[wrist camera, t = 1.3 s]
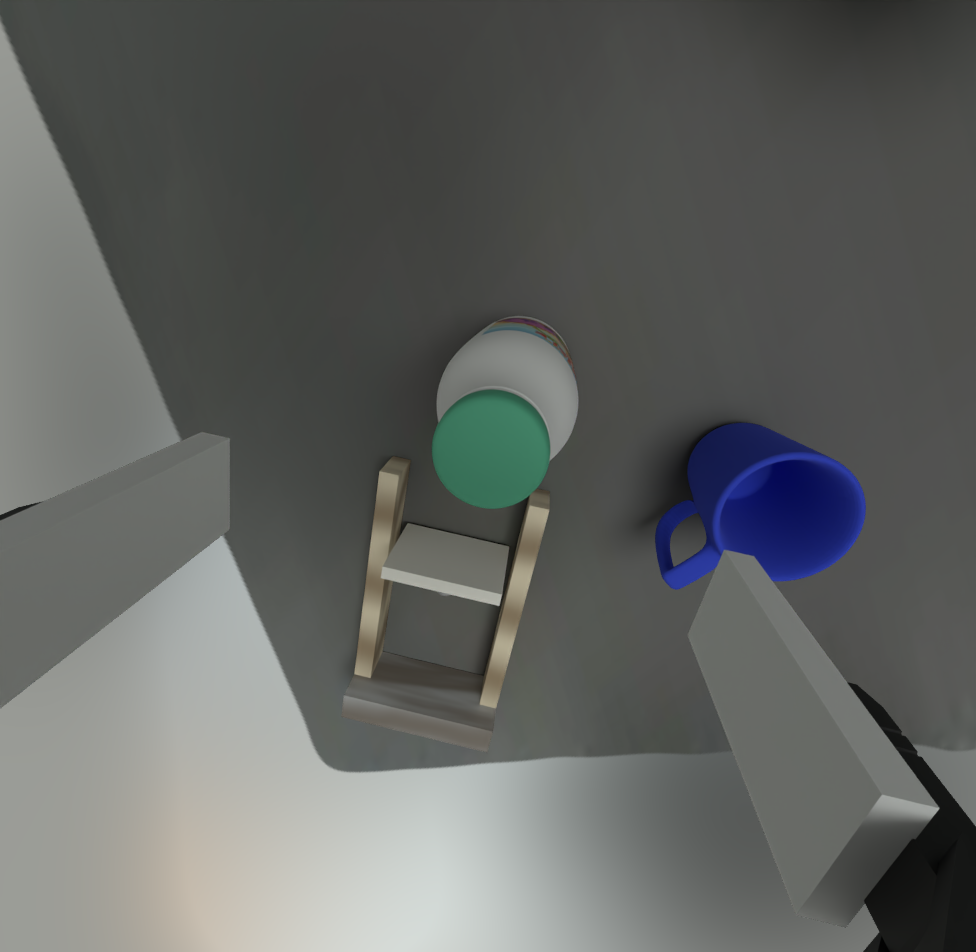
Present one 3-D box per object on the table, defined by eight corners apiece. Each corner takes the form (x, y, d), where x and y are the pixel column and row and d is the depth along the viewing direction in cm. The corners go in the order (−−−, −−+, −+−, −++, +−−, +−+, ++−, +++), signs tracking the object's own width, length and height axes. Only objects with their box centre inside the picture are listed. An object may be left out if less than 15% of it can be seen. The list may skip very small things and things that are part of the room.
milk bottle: (509, 439, 40) (473, 579, 21) (446, 359, 38) (348, 436, 20) (592, 379, 37) (634, 479, 19) (529, 291, 36) (507, 305, 17)
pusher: (407, 523, 43) (382, 566, 36) (509, 546, 43) (502, 594, 36) (401, 562, 44) (376, 611, 38) (499, 585, 44) (491, 638, 38)
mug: (611, 487, 40) (629, 549, 31) (748, 386, 36) (816, 423, 27) (674, 557, 42) (709, 637, 33) (811, 468, 38) (896, 530, 29)
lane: (392, 456, 41) (368, 483, 36) (549, 491, 41) (549, 525, 35) (364, 667, 50) (341, 716, 44) (494, 699, 49) (487, 752, 44)
